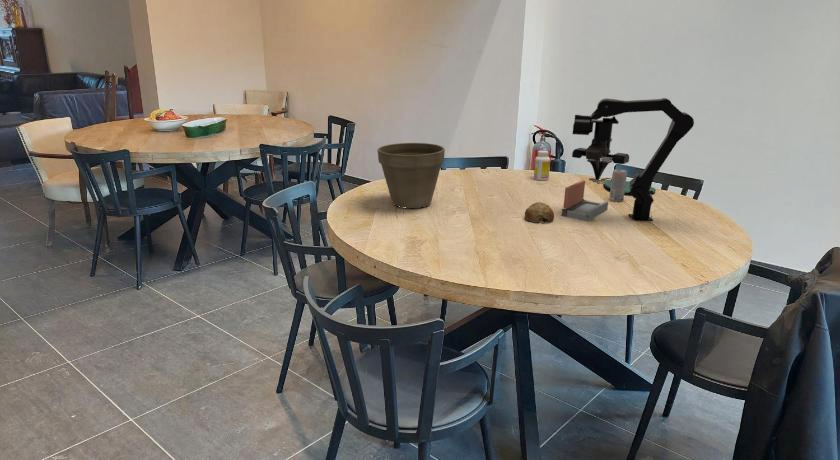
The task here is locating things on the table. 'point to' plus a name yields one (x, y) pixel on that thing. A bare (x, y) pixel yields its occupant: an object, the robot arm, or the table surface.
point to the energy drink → (618, 185)
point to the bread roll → (539, 213)
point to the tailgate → (574, 194)
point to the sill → (573, 207)
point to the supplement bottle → (542, 166)
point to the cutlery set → (627, 189)
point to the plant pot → (411, 172)
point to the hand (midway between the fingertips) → (597, 179)
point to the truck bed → (588, 210)
